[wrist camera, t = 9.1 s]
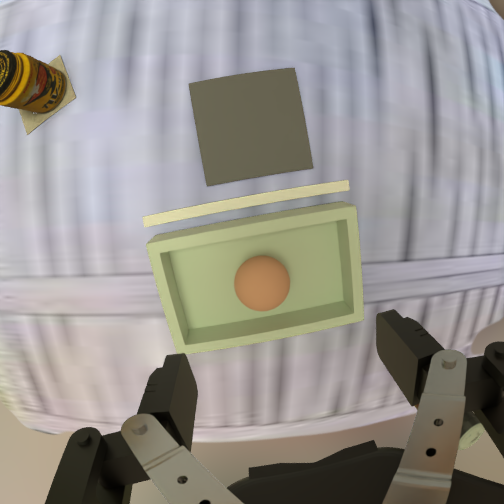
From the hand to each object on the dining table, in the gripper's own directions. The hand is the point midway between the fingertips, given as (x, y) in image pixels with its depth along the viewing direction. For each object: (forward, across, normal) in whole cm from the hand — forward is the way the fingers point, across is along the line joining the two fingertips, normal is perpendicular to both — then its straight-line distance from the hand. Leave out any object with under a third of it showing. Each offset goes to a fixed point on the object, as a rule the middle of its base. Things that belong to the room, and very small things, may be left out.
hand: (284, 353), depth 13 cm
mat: (+26, -2, -11) cm, 28 cm away
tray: (+25, 0, +6) cm, 26 cm away
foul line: (+25, 0, -3) cm, 25 cm away
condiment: (+26, +23, -23) cm, 41 cm away
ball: (+24, 0, +6) cm, 25 cm away
